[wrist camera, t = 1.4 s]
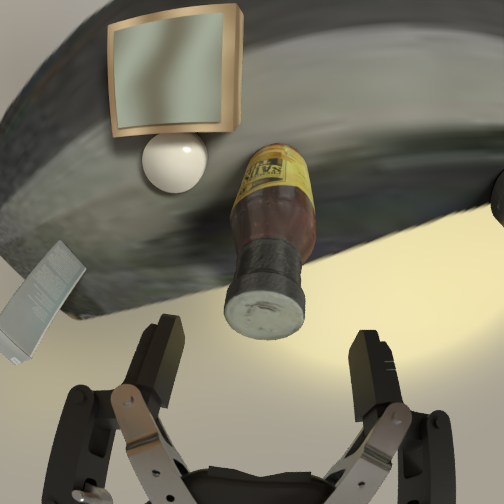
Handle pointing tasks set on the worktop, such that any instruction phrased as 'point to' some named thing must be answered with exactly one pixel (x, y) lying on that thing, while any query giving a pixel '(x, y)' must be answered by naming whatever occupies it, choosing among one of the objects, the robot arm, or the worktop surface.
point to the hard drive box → (38, 303)
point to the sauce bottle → (271, 244)
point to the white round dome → (175, 161)
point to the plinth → (176, 71)
